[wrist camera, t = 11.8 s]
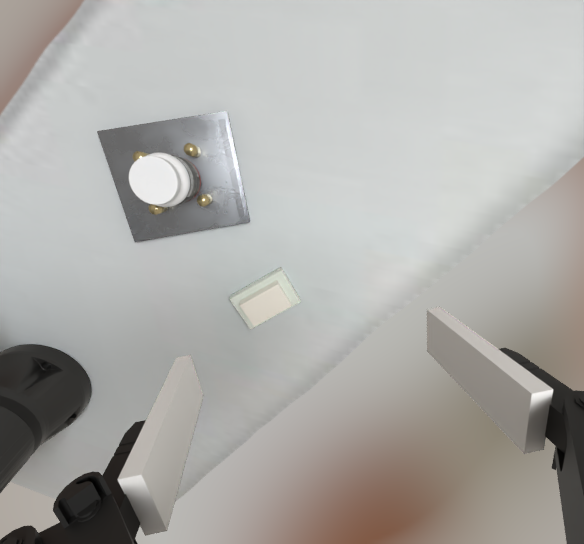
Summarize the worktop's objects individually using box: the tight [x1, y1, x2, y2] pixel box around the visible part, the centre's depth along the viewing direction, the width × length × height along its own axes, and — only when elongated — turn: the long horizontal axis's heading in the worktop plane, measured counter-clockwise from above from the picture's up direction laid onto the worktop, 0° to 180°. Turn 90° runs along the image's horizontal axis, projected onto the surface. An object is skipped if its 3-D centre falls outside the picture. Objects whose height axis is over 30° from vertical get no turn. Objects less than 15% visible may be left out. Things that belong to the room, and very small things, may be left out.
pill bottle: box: [129, 153, 201, 207], centre depth 33 cm, size 6×6×10 cm
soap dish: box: [230, 267, 301, 330], centre depth 44 cm, size 9×6×3 cm, turn 119°
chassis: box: [97, 111, 250, 242], centre depth 37 cm, size 16×14×4 cm
